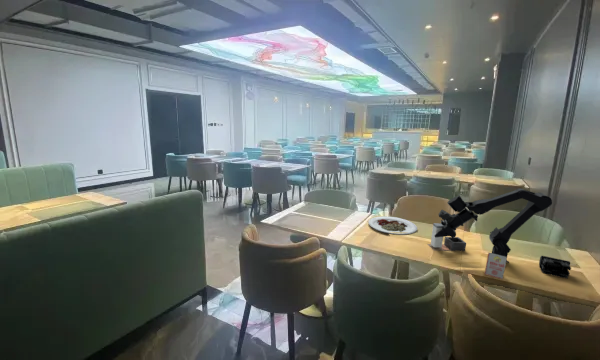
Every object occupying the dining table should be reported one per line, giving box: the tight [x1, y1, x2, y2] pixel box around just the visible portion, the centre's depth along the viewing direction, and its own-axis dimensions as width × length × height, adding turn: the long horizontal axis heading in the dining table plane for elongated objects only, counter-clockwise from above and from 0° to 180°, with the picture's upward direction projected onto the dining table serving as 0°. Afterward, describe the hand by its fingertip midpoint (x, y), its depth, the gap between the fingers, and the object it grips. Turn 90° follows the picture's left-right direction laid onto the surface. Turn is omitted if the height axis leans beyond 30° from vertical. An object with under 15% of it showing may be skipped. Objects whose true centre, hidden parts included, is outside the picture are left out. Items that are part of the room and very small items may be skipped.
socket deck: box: [427, 236, 467, 252], centre depth 152 cm, size 8×17×6 cm, turn 90°
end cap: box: [538, 255, 572, 280], centre depth 130 cm, size 10×7×7 cm
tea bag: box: [484, 252, 508, 280], centre depth 127 cm, size 4×7×10 cm, turn 53°
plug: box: [430, 222, 444, 247], centre depth 150 cm, size 4×4×12 cm
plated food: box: [368, 216, 418, 235], centre depth 182 cm, size 30×30×3 cm
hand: (434, 234), depth 151 cm, fingers closed on plug, 5 cm apart
